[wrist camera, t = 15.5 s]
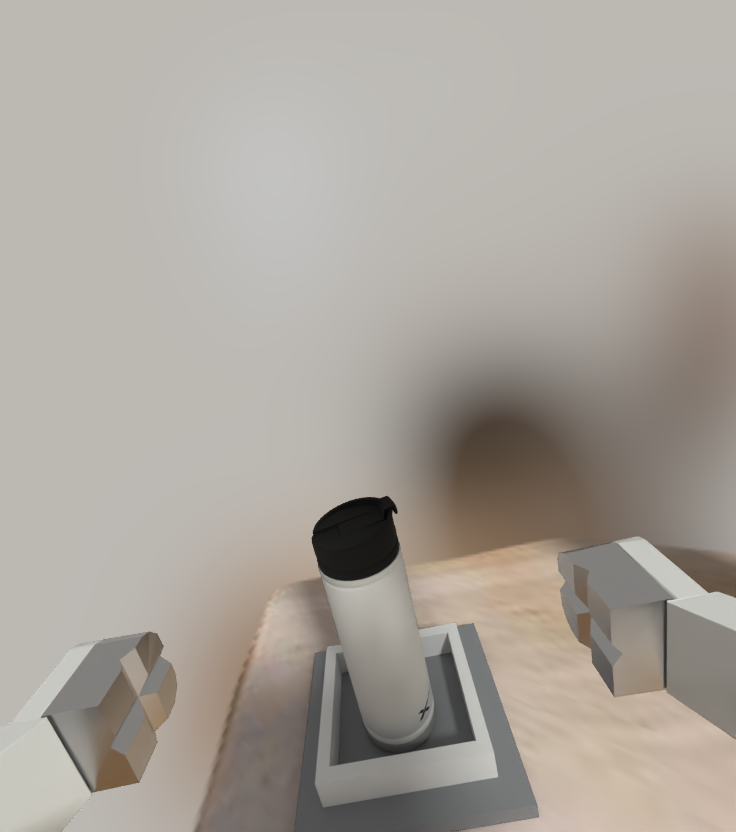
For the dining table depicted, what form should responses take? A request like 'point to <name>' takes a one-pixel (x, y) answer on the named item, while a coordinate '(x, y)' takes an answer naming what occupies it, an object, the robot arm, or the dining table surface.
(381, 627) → the travel mug
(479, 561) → the dining table surface
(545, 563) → the dining table surface
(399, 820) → the grey square tray
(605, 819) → the dining table surface
